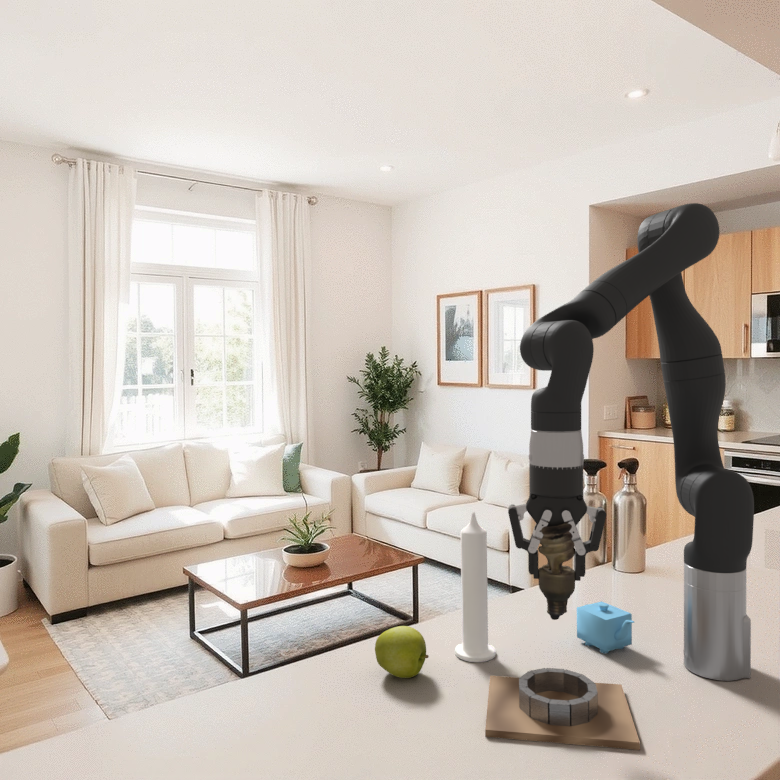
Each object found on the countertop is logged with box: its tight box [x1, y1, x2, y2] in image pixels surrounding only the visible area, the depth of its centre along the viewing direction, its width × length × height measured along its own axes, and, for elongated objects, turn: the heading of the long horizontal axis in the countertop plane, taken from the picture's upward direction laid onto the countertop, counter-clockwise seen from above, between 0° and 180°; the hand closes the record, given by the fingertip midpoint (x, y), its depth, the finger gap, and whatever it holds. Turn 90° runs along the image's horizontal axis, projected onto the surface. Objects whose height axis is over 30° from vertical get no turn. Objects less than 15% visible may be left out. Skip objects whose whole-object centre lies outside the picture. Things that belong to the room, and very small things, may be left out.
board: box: [484, 675, 641, 751], centre depth 98 cm, size 20×16×1 cm
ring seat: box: [519, 667, 598, 727], centre depth 97 cm, size 11×11×3 cm
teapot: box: [576, 600, 635, 654], centre depth 119 cm, size 12×6×8 cm, turn 28°
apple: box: [374, 625, 430, 679], centre depth 110 cm, size 8×9×8 cm
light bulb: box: [537, 523, 576, 621], centre depth 97 cm, size 6×6×15 cm
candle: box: [454, 511, 496, 663], centre depth 117 cm, size 7×7×25 cm
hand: (556, 577), depth 97 cm, fingers closed on light bulb, 5 cm apart
